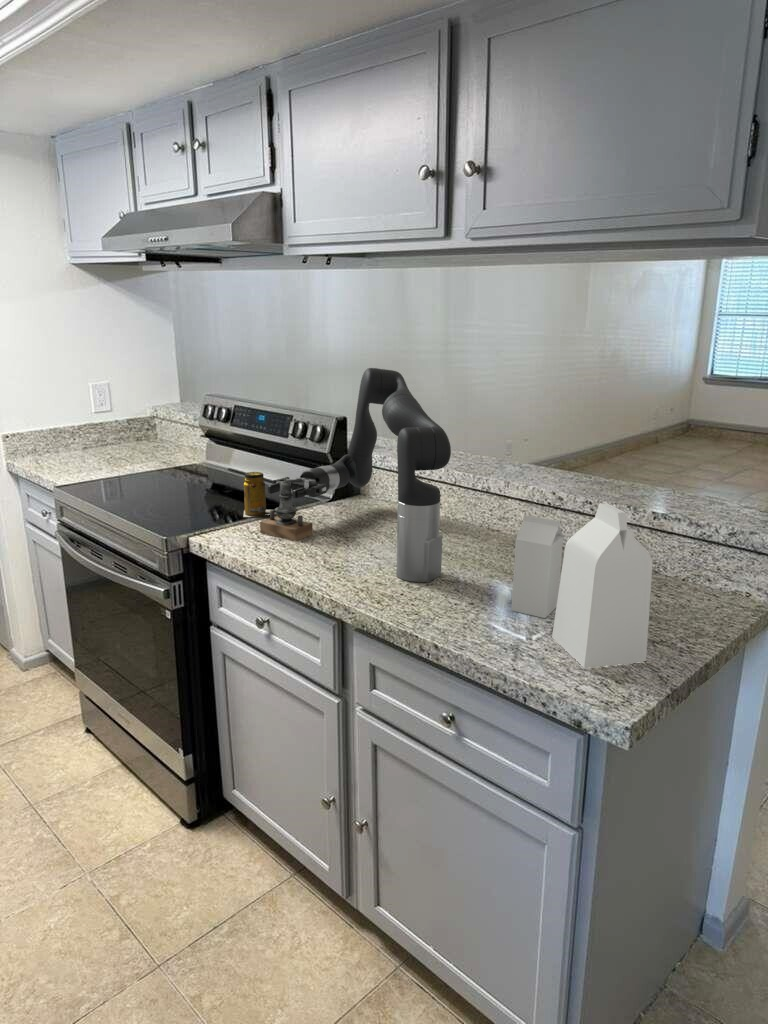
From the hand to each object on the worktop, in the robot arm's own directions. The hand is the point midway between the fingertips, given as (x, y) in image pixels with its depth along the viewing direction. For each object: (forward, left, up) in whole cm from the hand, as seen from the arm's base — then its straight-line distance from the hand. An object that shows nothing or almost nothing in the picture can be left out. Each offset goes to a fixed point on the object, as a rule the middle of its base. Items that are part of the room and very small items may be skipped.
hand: (281, 492), depth 185 cm
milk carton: (-73, +8, -12) cm, 74 cm away
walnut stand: (0, -2, -11) cm, 12 cm away
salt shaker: (0, -2, -9) cm, 9 cm away
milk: (-89, +19, -12) cm, 92 cm away
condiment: (+19, -12, -12) cm, 25 cm away
